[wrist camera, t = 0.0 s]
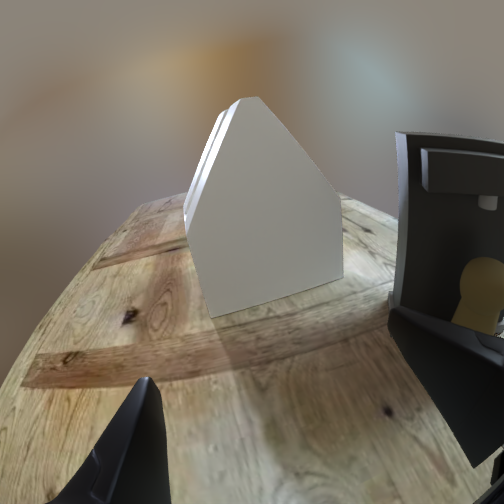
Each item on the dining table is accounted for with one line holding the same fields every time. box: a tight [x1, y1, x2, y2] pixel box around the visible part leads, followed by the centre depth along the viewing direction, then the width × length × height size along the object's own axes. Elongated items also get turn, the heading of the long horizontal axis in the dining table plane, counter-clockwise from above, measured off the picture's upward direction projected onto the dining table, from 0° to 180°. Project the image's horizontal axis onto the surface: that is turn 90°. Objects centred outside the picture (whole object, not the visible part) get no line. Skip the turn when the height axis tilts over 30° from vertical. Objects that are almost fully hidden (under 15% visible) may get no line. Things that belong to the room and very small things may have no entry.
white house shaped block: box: [183, 97, 343, 318], centre depth 38 cm, size 19×15×25 cm
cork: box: [451, 257, 504, 336], centre depth 17 cm, size 6×6×11 cm
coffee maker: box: [388, 132, 504, 337], centre depth 20 cm, size 10×15×20 cm, turn 69°
